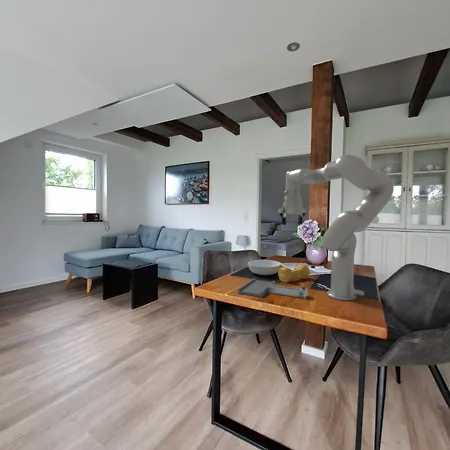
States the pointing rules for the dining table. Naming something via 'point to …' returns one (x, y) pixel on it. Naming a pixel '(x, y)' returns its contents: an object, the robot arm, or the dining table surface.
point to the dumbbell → (293, 273)
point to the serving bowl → (264, 267)
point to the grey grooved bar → (288, 291)
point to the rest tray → (255, 288)
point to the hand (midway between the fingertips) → (292, 224)
